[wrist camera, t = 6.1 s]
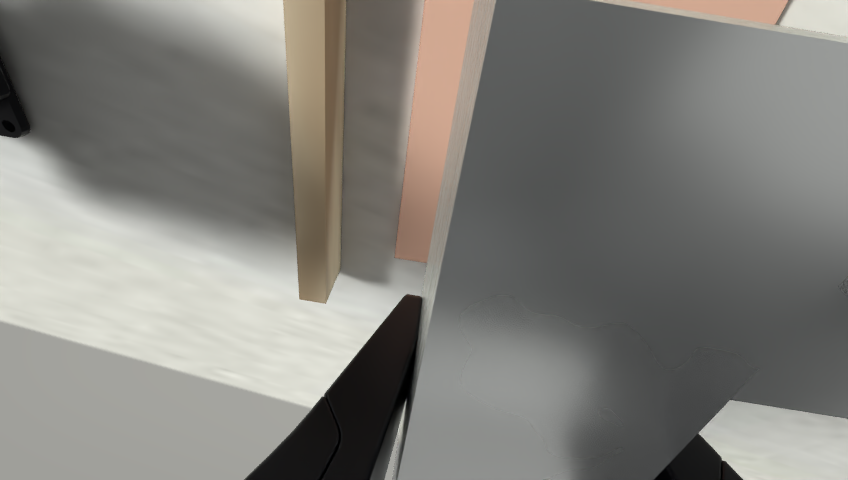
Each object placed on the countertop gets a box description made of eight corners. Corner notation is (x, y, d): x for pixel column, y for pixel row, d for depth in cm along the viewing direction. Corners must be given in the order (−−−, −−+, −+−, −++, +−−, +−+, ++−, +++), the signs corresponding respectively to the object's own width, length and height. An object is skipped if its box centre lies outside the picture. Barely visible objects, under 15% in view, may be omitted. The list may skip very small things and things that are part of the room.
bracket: (478, -25, 7) (499, -14, 3) (950, 53, 7) (1722, 188, 3) (408, 362, 12) (380, 561, 8) (665, 403, 12) (766, 621, 8)
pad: (395, 253, 19) (394, 257, 19) (436, -93, 12) (435, -95, 12) (621, 290, 19) (623, 295, 19) (800, -33, 12) (807, -33, 12)
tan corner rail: (316, 265, 20) (299, 299, 18) (305, -275, 10) (265, -337, 8) (603, 312, 20) (619, 351, 18) (870, -180, 10) (972, -218, 8)
